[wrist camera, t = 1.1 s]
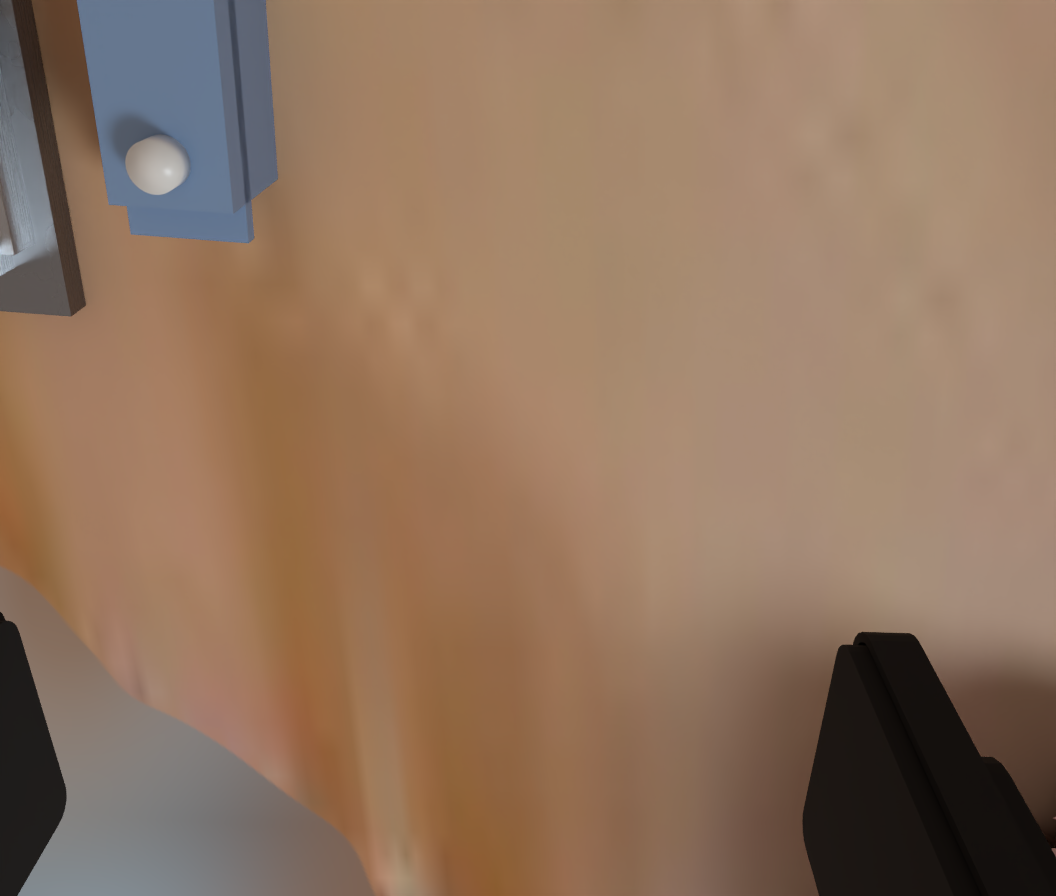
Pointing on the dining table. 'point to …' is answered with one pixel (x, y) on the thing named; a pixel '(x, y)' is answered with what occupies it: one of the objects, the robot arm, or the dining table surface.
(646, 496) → the dining table surface
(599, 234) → the dining table surface
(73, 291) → the chassis
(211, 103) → the servo
